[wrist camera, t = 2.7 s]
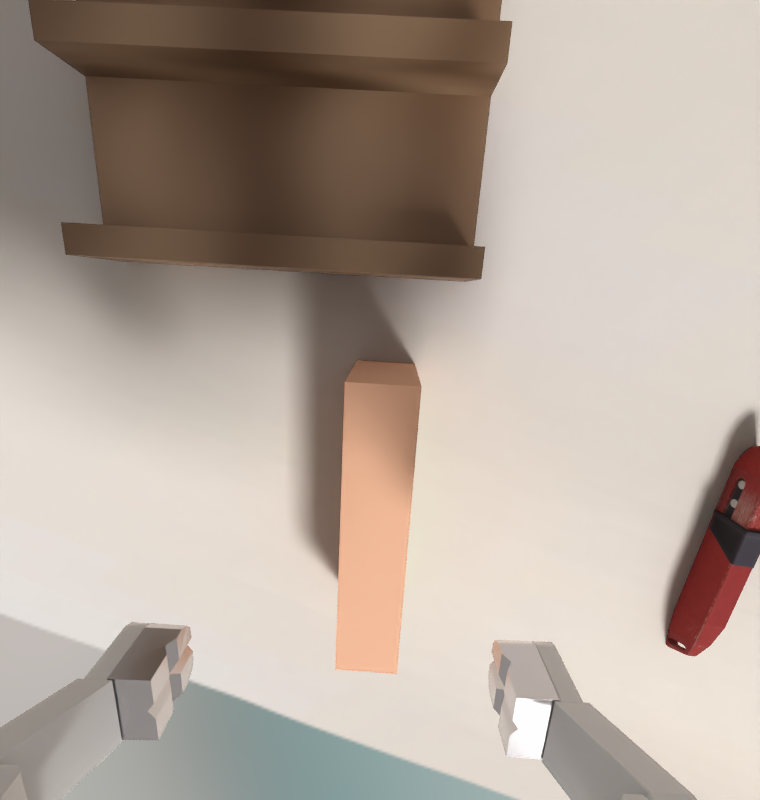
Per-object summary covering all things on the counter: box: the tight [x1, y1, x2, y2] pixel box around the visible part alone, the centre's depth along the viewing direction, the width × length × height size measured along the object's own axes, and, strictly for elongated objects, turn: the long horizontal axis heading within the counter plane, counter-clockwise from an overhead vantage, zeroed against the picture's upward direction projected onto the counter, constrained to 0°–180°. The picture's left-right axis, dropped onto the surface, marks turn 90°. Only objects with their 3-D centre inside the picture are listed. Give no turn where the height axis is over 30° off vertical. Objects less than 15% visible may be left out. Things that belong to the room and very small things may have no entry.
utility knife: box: [666, 446, 760, 656], centre depth 18 cm, size 12×1×2 cm, turn 172°
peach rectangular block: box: [335, 360, 421, 674], centre depth 16 cm, size 12×2×4 cm, turn 177°
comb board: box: [28, 0, 512, 281], centre depth 13 cm, size 14×13×3 cm
